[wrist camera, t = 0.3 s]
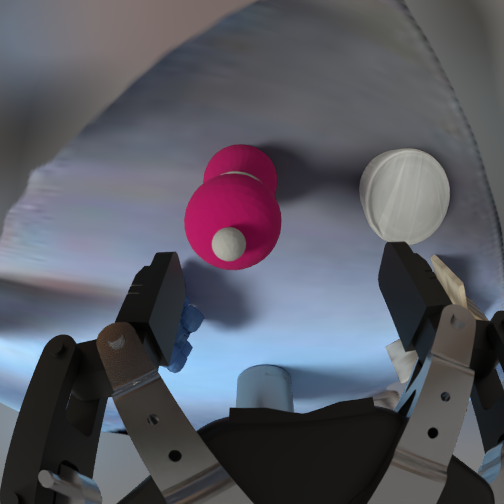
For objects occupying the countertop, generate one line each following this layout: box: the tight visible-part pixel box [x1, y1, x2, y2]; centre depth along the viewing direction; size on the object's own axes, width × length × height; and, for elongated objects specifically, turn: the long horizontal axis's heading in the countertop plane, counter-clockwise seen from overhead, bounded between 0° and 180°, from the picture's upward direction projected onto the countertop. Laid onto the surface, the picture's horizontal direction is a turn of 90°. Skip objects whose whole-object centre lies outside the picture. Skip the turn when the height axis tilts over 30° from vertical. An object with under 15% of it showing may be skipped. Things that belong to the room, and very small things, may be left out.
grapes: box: [163, 296, 204, 373], centre depth 35 cm, size 12×7×12 cm, turn 9°
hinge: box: [385, 255, 489, 383], centre depth 38 cm, size 18×15×8 cm
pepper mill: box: [184, 145, 281, 270], centre depth 24 cm, size 7×7×20 cm
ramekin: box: [359, 148, 450, 245], centre depth 31 cm, size 11×11×5 cm
